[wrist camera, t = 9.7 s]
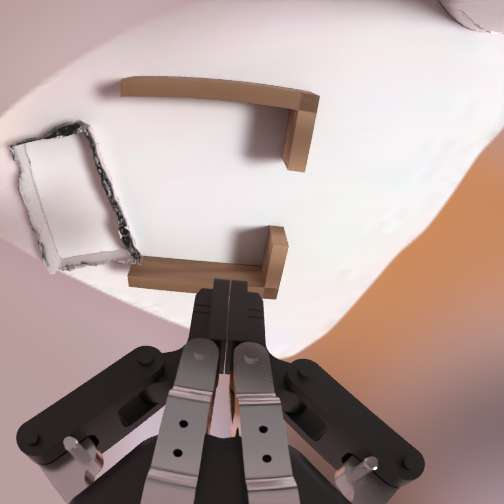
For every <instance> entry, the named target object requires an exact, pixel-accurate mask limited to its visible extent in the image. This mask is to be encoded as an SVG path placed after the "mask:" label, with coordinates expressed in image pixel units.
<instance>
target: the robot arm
mask: <svg viewBox="0 0 504 504" xmlns="http://www.w3.org/2000/svg"><path fill="white" fill-rule="evenodd" d="M439 1H440V2H441V4H442V5H443V7H444V8H445V9H446V10H447V11H448V13H449V14H450V15H451V16H452V17H453V18H455V19H456V20H457V21H458V22H459V23H461V24H462V25H464V26H465V27H467V28H469V29H471V30H474V31H479V32H488V33H496V34H498V33H502V34H504V0H439ZM229 290H230V298H229ZM225 352H226V362H225V374H230V384H229V404H230V421H231V437H230V438H218V437H215V436H212V435H210V427H211V420H212V414H213V407H214V400H215V394H216V388H217V386H218V381H219V374H223V371H224V361H225ZM165 404H166V406H165V409H164V413H163V417H162V421H161V425H160V430H159V434H158V435H156V436H153V437H151V438H148V439H147V440H145V441H143V442H142V443H140V444H139V445H138V446H137V447H135V448H134V449H133V450H132V451H131V452H130V453H128V454H127V455H126V456H125V457H124V458H122V459H121V460H120V461H119V462H118V463H116V464H115V465H114V466H113V467H112V468H110V469H109V470H108V471H107V472H105V473H104V474H103V475H102V476H101V477H99V478H98V479H97V480H95V481H94V479H95V477H96V475H97V474H98V473H99V472H100V471H101V469H102V468H103V464H104V460H103V456H102V454H103V453H104V452H105V451H107V450H108V449H109V448H111V447H112V446H113V445H114V444H116V443H117V442H118V441H120V440H121V439H122V438H124V437H125V436H126V435H127V434H129V433H130V432H132V431H133V430H134V429H135V428H137V427H138V426H139V425H141V424H142V423H143V422H144V421H146V420H147V419H148V418H149V417H151V416H152V415H153V414H154V413H156V412H157V411H158V410H159V409H161V408H162V407H163V406H164V405H165ZM284 420H285V421H286V422H287V423H288V424H289V425H290V426H291V427H292V428H293V429H294V430H295V431H296V432H297V433H298V434H299V435H300V436H301V437H302V438H303V439H304V440H305V441H306V442H307V443H308V444H309V445H310V446H311V447H312V448H314V450H316V451H317V452H318V453H319V454H320V455H321V456H322V457H323V458H324V459H325V460H326V461H327V462H328V463H329V464H331V465H332V466H333V467H334V468H335V469H336V470H337V471H336V474H335V482H336V485H337V486H338V487H339V488H340V490H341V491H342V493H340V492H339V491H338V490H337V489H336V488H335V487H334V486H333V485H332V484H331V483H330V482H329V481H328V480H327V479H326V478H325V477H324V476H323V475H322V474H321V473H320V472H319V471H318V470H317V469H316V468H315V467H314V466H313V465H312V464H311V463H310V462H309V461H308V459H307V458H306V457H305V456H304V455H303V454H302V453H300V452H299V451H298V450H297V449H295V448H293V447H292V446H290V445H288V444H287V438H286V431H285V425H284ZM16 440H17V444H18V446H19V448H20V450H21V451H22V452H23V453H25V454H26V455H27V456H28V457H29V458H30V459H31V460H32V461H33V462H34V463H36V464H37V465H38V466H40V468H41V469H42V470H43V472H44V473H45V475H46V476H47V478H48V479H49V480H50V482H51V483H52V484H53V486H54V487H55V489H56V490H57V491H58V493H59V494H60V495H61V496H62V498H63V499H64V500H65V502H66V503H67V504H386V503H387V502H388V500H389V499H390V498H391V497H392V496H393V495H394V494H395V492H396V491H397V490H398V489H399V488H401V487H403V486H404V485H406V484H408V483H410V482H411V481H413V480H415V479H416V478H418V477H419V476H420V475H421V474H422V472H423V470H424V467H425V462H424V458H423V456H422V455H421V453H420V452H419V451H418V450H416V449H415V448H414V447H413V446H412V445H411V444H409V443H408V442H407V441H406V440H404V439H403V438H402V437H401V436H400V435H398V434H397V433H396V432H395V431H394V430H392V429H391V428H390V427H389V426H388V425H387V424H385V423H384V422H383V421H382V420H381V419H380V418H378V417H377V416H376V415H375V414H374V413H372V412H371V411H370V410H369V409H368V408H367V407H365V406H364V405H363V404H362V403H361V402H360V401H359V400H357V399H356V398H355V397H354V396H353V395H352V394H351V393H349V392H348V391H347V390H346V389H345V388H344V387H343V386H341V385H340V384H339V383H338V382H337V381H336V380H335V379H333V378H332V377H331V376H330V375H329V374H328V373H327V372H326V371H324V370H323V369H322V368H321V367H320V366H319V365H318V364H317V363H315V362H313V361H311V360H308V359H298V360H295V361H293V362H292V363H288V362H285V361H282V360H279V359H277V358H275V357H274V356H272V355H271V354H270V353H269V351H268V350H267V348H266V342H265V324H264V307H263V300H262V298H261V297H260V295H259V293H256V292H248V282H247V280H236V279H231V288H230V279H224V278H214V284H213V289H209V288H201V289H200V291H199V292H198V293H197V294H196V297H195V302H194V308H193V314H192V320H191V326H190V333H189V338H188V341H187V343H186V344H185V345H184V346H183V347H182V348H181V349H179V350H176V351H173V352H167V353H161V352H160V351H159V350H158V349H157V348H155V347H152V346H141V347H138V348H136V349H134V350H133V351H131V352H130V353H128V354H127V355H125V356H124V357H122V358H121V359H119V360H118V361H117V362H115V363H114V364H112V365H111V366H109V367H108V368H106V369H105V370H103V371H102V372H100V373H99V374H97V375H96V376H94V377H93V378H92V379H90V380H89V381H87V382H86V383H84V384H83V385H81V386H80V387H78V388H77V389H75V390H74V391H72V392H71V393H69V394H68V395H66V396H65V397H63V398H62V399H60V400H59V401H57V402H56V403H54V404H53V405H51V406H50V407H48V408H47V409H45V410H44V411H42V412H41V413H39V414H38V415H36V416H35V417H33V418H32V419H30V420H29V421H27V422H25V423H24V424H23V425H22V426H21V427H20V428H19V429H18V432H17V436H16Z"/></svg>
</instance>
